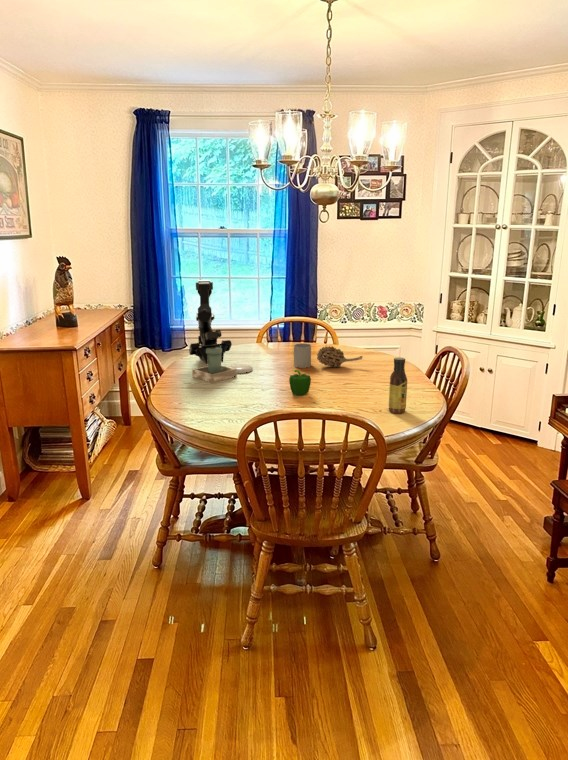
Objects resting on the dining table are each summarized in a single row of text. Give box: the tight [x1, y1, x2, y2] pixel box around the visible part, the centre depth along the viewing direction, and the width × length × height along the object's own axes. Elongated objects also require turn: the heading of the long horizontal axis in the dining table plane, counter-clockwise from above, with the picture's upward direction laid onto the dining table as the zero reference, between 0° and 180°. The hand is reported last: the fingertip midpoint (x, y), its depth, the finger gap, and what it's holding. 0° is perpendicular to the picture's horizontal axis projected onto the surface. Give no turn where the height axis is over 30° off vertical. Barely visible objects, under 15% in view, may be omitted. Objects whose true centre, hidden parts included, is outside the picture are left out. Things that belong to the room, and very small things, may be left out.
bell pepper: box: [288, 369, 312, 397], centre depth 225 cm, size 8×8×10 cm
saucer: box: [228, 364, 254, 374], centre depth 263 cm, size 12×12×1 cm
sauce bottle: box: [388, 356, 408, 414], centre depth 203 cm, size 7×6×20 cm
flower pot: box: [206, 347, 222, 374], centre depth 251 cm, size 7×7×13 cm
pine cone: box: [316, 346, 364, 368], centre depth 265 cm, size 22×10×10 cm, turn 85°
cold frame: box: [191, 364, 238, 384], centre depth 252 cm, size 14×14×4 cm
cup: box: [293, 343, 312, 369], centre depth 269 cm, size 8×8×10 cm
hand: (214, 363), depth 250 cm, fingers closed on flower pot, 7 cm apart
